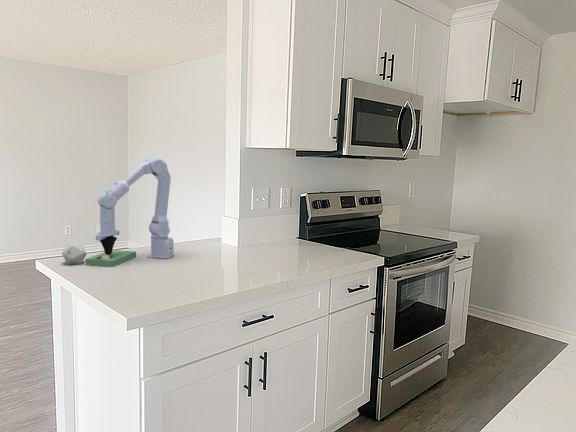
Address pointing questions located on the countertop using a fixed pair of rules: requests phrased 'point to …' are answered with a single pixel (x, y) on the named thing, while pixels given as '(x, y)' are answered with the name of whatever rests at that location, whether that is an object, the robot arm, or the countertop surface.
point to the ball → (105, 257)
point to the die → (74, 253)
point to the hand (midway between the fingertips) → (108, 254)
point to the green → (111, 258)
